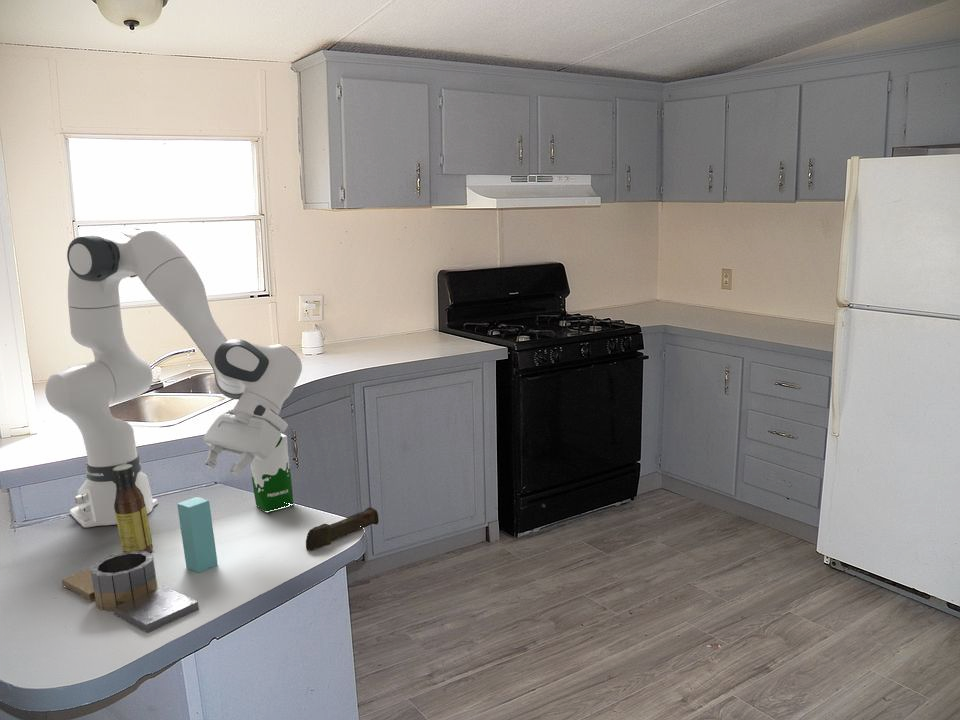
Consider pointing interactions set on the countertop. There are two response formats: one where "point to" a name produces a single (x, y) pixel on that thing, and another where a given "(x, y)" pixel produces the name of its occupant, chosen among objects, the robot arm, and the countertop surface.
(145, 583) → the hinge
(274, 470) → the milk carton
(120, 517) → the sauce bottle
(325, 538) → the hand tool
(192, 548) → the teal square block
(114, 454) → the robot arm
